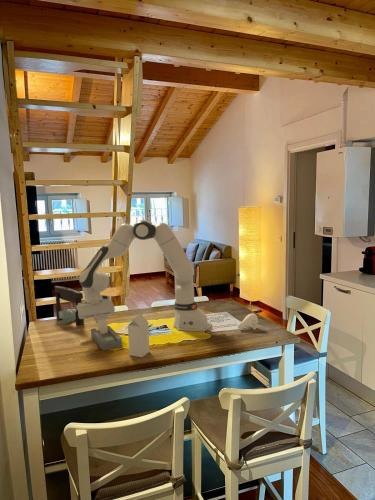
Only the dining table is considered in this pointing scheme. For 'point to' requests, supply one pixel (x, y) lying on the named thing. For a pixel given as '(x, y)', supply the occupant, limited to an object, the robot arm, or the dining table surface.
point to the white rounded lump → (249, 322)
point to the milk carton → (138, 336)
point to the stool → (71, 297)
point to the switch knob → (102, 324)
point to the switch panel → (106, 339)
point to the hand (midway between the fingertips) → (99, 322)
